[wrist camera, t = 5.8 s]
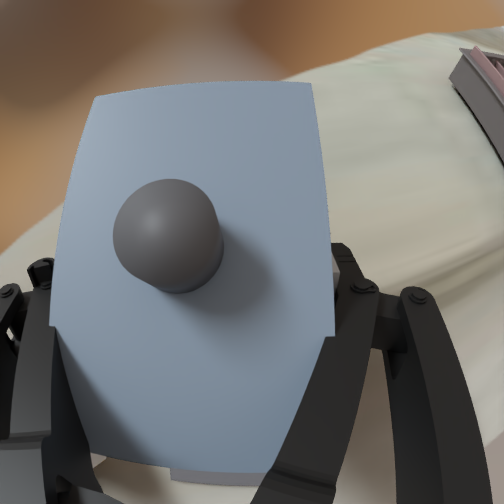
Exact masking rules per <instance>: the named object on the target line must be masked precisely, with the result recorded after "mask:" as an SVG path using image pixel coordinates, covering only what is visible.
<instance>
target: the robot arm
mask: <svg viewBox="0 0 504 504" xmlns="http://www.w3.org/2000/svg"><path fill="white" fill-rule="evenodd" d="M331 254H332V270H333V289H334V314H335V336H327V337H325V339H324V342H323V345H322V348H321V350H320V353H319V356H318V359H317V361H316V364H315V367H314V369H313V372H312V375H311V377H310V380H309V382H308V385H307V388H306V390H305V393H304V395H303V398H302V400H301V402H300V405H299V407H298V410H297V412H296V415H295V417H294V419H293V422H292V424H291V426H290V429H289V431H288V433H287V435H286V438H285V440H284V442H283V444H282V446H281V449H280V451H279V453H278V455H277V457H276V459H275V461H274V463H273V465H272V467H271V468H270V469H269V471H268V472H267V473H266V475H265V477H264V478H263V480H262V482H261V484H260V486H259V488H258V490H257V492H256V494H255V496H254V498H253V499H252V501H251V503H250V504H332V503H333V500H334V497H335V493H336V481H337V478H338V475H339V472H340V469H341V466H342V463H343V460H344V456H345V453H346V450H347V446H348V443H349V440H350V436H351V432H352V429H353V425H354V421H355V418H356V414H357V410H358V406H359V401H360V397H361V393H362V389H363V384H364V379H365V375H366V370H367V365H368V360H369V355H370V349H371V348H375V349H381V350H382V353H383V359H384V366H385V372H386V379H387V386H388V394H389V401H390V410H391V419H392V429H393V440H394V453H395V469H396V497H397V504H493V502H492V494H491V486H490V480H489V474H488V468H487V462H486V457H485V452H484V447H483V443H482V438H481V434H480V430H479V426H478V422H477V418H476V414H475V411H474V407H473V403H472V400H471V397H470V393H469V390H468V387H467V384H466V380H465V377H464V374H463V371H462V368H461V365H460V363H459V360H458V357H457V354H456V351H455V349H454V346H453V343H452V341H451V338H450V335H449V333H448V330H447V328H446V325H445V323H444V320H443V318H442V316H441V313H440V311H439V308H438V306H437V304H436V302H435V299H434V298H433V296H432V295H431V294H430V293H429V292H428V291H426V290H425V289H422V288H420V287H414V286H412V287H406V288H404V289H403V290H402V291H401V294H400V297H399V296H393V295H388V294H384V293H381V292H379V288H378V286H377V285H376V284H375V283H374V282H372V281H371V280H369V279H366V278H364V276H363V274H362V272H361V270H360V268H359V266H358V264H357V262H356V260H355V258H354V257H353V254H352V252H351V250H350V249H349V248H348V247H347V246H345V245H344V244H343V243H331ZM54 261H55V259H53V258H43V259H40V260H37V261H36V262H34V263H32V264H31V265H30V266H29V267H28V269H27V272H28V274H29V277H30V279H31V282H32V284H33V287H34V289H33V291H30V292H24V293H22V291H21V289H20V287H19V285H18V284H14V283H12V284H7V285H5V286H3V287H2V288H1V289H0V504H124V503H121V502H119V501H118V500H116V499H114V498H112V497H110V496H108V495H106V494H104V493H103V491H102V488H101V486H100V485H99V483H98V481H97V479H96V477H95V475H94V471H93V466H92V460H91V454H90V447H89V443H88V440H87V437H86V435H85V432H84V429H83V427H82V424H81V421H80V418H79V415H78V412H77V409H76V406H75V403H74V400H73V396H72V393H71V390H70V386H69V383H68V379H67V375H66V372H65V368H64V364H63V360H62V356H61V351H60V347H59V342H58V338H57V333H56V328H55V326H49V319H50V302H51V289H52V278H53V269H54ZM8 328H10V330H11V332H12V334H13V338H12V340H11V339H10V338H9V337H8V335H7V333H6V332H7V330H8Z"/></svg>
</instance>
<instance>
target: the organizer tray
mask: <svg viewBox="0 0 504 504" xmlns="http://www.w3.org/2000/svg"><path fill="white" fill-rule="evenodd" d="M459 50H460V51H461V52H462V53H463V55H462V57H461V59H460V60H459V62H458V64H457V65H456V67H455V68H454V70H453V72H452V73H451V75H450V77H449V79H450V81H451V82H452V83H453V85H454V86H455V87H456V89H457V90H458V91H459V93H460V94H461V95H462V97H463V98H464V99H465V101H466V102H467V104H468V105H469V106H470V108H471V109H472V111H473V112H474V114H475V115H476V117H477V118H478V120H479V121H480V123H481V124H482V126H483V128H484V129H485V131H486V132H487V134H488V136H489V137H490V139H491V141H492V142H493V144H494V146H495V148H496V149H497V151H498V153H499V155H500V156H501V158H502V160H503V162H504V56H503V55H499V54H494V53H488V52H483V51H481V50H480V49H479V48H478V47H477V46H475V47H474V48H473V50H470V49H463V48H459Z"/></svg>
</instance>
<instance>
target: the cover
mask: <svg viewBox="0 0 504 504" xmlns="http://www.w3.org/2000/svg"><path fill="white" fill-rule="evenodd" d="M49 326H55V328H56V333H57V338H58V342H59V347H60V351H61V356H62V360H63V364H64V368H65V372H66V375H67V379H68V383H69V386H70V390H71V393H72V396H73V400H74V403H75V406H76V409H77V412H78V415H79V418H80V421H81V424H82V427H83V429H84V432H85V435H86V437H87V440H88V443H89V447H90V453H94V454H98V455H102V456H106V457H111V458H115V459H120V460H125V461H130V462H135V463H141V464H147V465H153V466H160V467H167V468H176V469H185V470H195V471H209V472H230V473H267V472H268V471H269V469H270V468H271V467H272V465H273V463H274V461H275V459H276V457H277V455H278V453H279V451H280V449H281V446H282V444H283V442H284V440H285V438H286V435H287V433H288V431H289V429H290V426H291V424H292V422H293V419H294V417H295V415H296V412H297V410H298V407H299V405H300V402H301V400H302V398H303V395H304V393H305V390H306V388H307V385H308V382H309V380H310V377H311V375H312V372H313V369H314V367H315V364H316V361H317V359H318V356H319V353H320V350H321V348H322V345H323V342H324V339H325V337H327V336H335V314H334V289H333V270H332V254H331V240H330V227H329V216H328V205H327V195H326V186H325V177H324V168H323V160H322V152H321V145H320V137H319V130H318V123H317V117H316V110H315V104H314V98H313V92H312V86H311V83H303V82H282V81H225V82H206V83H190V84H179V85H168V86H161V87H152V88H144V89H137V90H131V91H124V92H118V93H113V94H107V95H102V96H97V97H95V99H94V102H93V105H92V107H91V110H90V113H89V116H88V119H87V122H86V125H85V128H84V131H83V134H82V137H81V140H80V144H79V147H78V150H77V154H76V157H75V161H74V165H73V168H72V172H71V177H70V180H69V184H68V189H67V193H66V198H65V202H64V207H63V212H62V217H61V222H60V228H59V234H58V240H57V247H56V254H55V261H54V269H53V278H52V289H51V302H50V319H49Z"/></svg>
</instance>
